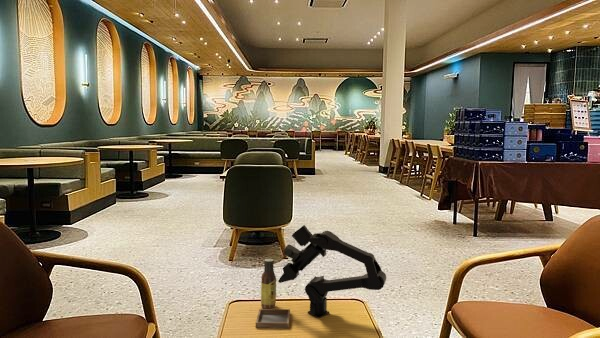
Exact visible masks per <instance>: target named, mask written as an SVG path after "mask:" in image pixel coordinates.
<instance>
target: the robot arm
mask: <svg viewBox="0 0 600 338" xmlns="http://www.w3.org/2000/svg"><path fill="white" fill-rule="evenodd" d="M291 238H293V239H294V241H296V243H297V244H298V245H299V246H300V247H305V248H304V249H301V250H300V249H298V248H297V247H295V246H294V245H292V244H287V245H286V246H285V247H284V249H283V252H282V254H283V255H284V256H286V257H288V258H290V259H291V260H290V261H291V262H287V264H286V265H284V266H283V267H282V271H283V273H282V274H281V276H280V277H279V279H278V280H277V282H278V283H279V284H282V283H285V282H289V281H294V280H296V279H297V277H299V276H300V271H301V272H302V271H303V270H305V269H306V267H308V265H310V264H311V263H312V262H313V261H314V260H315V259H317V257H318V256H320V255H321V256H322V258H324V257H326V255H327V251H334V252H338V253H340V254H342V255H344V256H346V257H349V258H351V259H352V260H353V259H354V260H355V261H357V262H360V263H361V264H363V265H364V267H365V271H366V273H365V274H363V275H359V276H351V277H350V276H349V277H341V278H335V279H334V278H333V279H325V276H324V275H321V276H314V277H313V278H311V279H310V281H309V282H308V283H307V284H306V285H305V287H304V291H305V294H306V295H307V296H308V300H309V302H310V303H309V310H308V311H307V314H308V315H312V316H313V317H315V318H322V317H323V316H326V315H329V314H330V311H328V309H327V301H328V299H327V296H328V293H330V292H336V291H338V292H339V291H346V290H353V289H367V290H369V291H370V290H371V291H379V290H382V289H383V288H384V286H385V284H386V281H387V275H386V273H385V272H384V271H383V270H382V268H381V265H380V264H379V262H378V261H377V260H376V257H375V255H374V254H373V253H371V252H368V251H366V250H363V249H361V248H359V247H357V246H355V245H352V244H350V243H348V242H346V241H343V240H342V239H341V238H339V236H337V235H336V234H334V233H333V232H332V231H329V230H324V231H322V232H318V233H316V232H315V233H312V232H311V231H310V230H309V229H308V227H307V226H306V225H304V224H303V225H301V227H300V228H298V229H297V230H296V231H295V232H293V233H292V235H291ZM306 245H307V246H306Z"/></svg>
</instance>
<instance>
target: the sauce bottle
mask: <svg viewBox="0 0 600 338" xmlns="http://www.w3.org/2000/svg"><path fill="white" fill-rule="evenodd" d="M263 263H264V271H263V272H262V273H261V282H260V285H261V286H260V303H261V304H260V305H261V309H274V308H275V307H276V303H277V277H276V273H275V271H274V264H275V260H274V259H272V258H265V259H264V260H263Z"/></svg>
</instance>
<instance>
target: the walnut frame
mask: <svg viewBox="0 0 600 338" xmlns="http://www.w3.org/2000/svg"><path fill="white" fill-rule="evenodd" d="M290 318H291V309H287V308H285V309H284V308H282V309H279V308H277V309H276V308H275V309H274V308H271V309H265V308H259V309H258V313H257V316H256V321H255V329H289V328H290Z"/></svg>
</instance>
